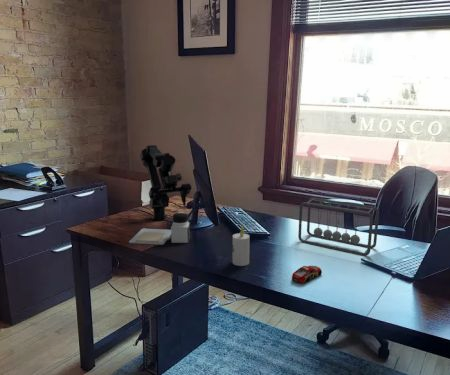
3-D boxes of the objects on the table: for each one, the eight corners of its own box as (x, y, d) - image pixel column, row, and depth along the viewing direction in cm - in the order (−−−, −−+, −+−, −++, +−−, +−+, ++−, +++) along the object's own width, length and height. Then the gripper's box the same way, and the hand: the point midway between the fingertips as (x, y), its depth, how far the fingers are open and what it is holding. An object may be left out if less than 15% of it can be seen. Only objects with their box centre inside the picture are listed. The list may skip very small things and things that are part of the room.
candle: (229, 260, 153) (229, 223, 149) (245, 258, 155) (245, 221, 151) (235, 267, 147) (235, 228, 143) (251, 264, 149) (252, 226, 146)
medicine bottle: (188, 243, 170) (187, 216, 167) (171, 243, 170) (170, 216, 168) (189, 237, 177) (189, 211, 174) (173, 237, 177) (173, 211, 175)
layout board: (142, 229, 187) (142, 226, 186) (173, 231, 185) (173, 228, 184) (128, 243, 170) (128, 239, 170) (163, 244, 168) (163, 241, 168)
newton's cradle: (297, 241, 172) (299, 201, 168) (307, 234, 180) (309, 196, 176) (369, 257, 156) (373, 213, 152) (376, 248, 164) (379, 207, 160)
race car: (311, 269, 146) (312, 259, 145) (324, 274, 142) (325, 264, 141) (288, 280, 137) (289, 269, 136) (301, 286, 133) (302, 275, 132)
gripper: (149, 169, 174) (157, 199, 167) (189, 165, 181) (199, 194, 174) (145, 183, 182) (153, 213, 175) (184, 179, 190) (193, 207, 183)
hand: (174, 206), depth 177 cm, fingers open, 9 cm apart
